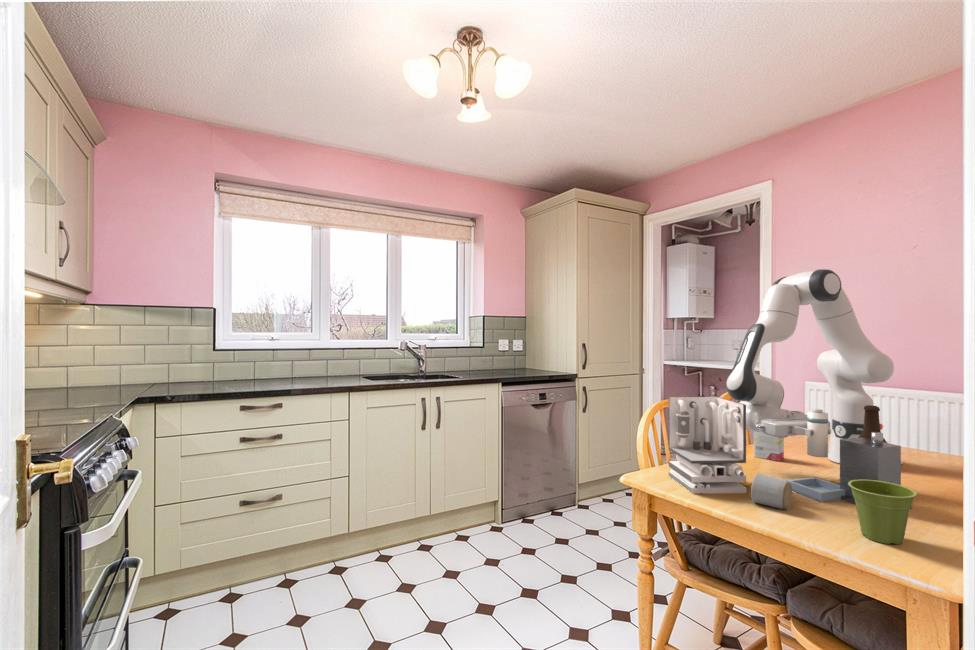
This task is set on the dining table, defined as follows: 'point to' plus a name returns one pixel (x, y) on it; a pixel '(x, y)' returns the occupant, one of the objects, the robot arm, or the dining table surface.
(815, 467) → the dining table surface
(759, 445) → the ink box
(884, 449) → the block
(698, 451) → the pipe room model
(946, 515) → the dining table surface
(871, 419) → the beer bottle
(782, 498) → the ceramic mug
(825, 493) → the tray
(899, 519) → the plant pot
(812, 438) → the cylinder
